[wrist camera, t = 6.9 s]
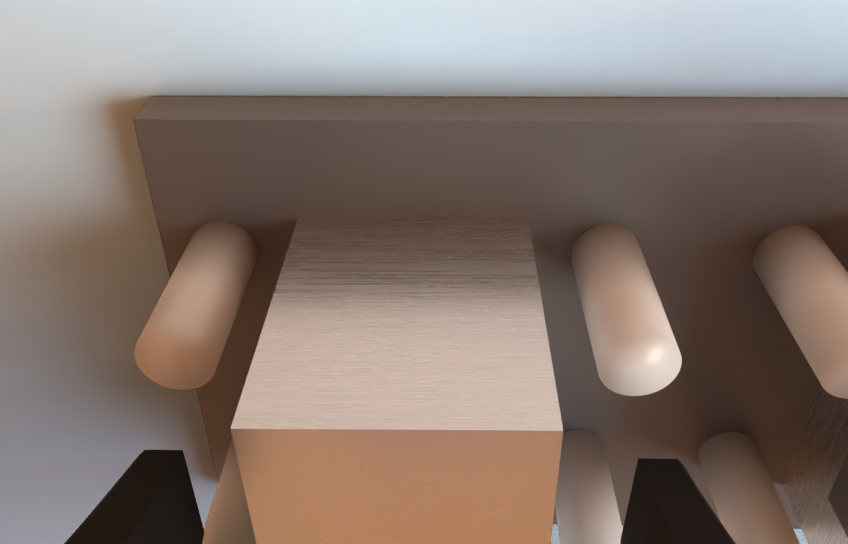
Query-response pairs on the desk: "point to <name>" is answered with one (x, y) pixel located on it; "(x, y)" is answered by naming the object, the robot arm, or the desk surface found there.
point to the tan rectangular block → (821, 472)
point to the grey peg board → (541, 266)
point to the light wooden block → (402, 388)
